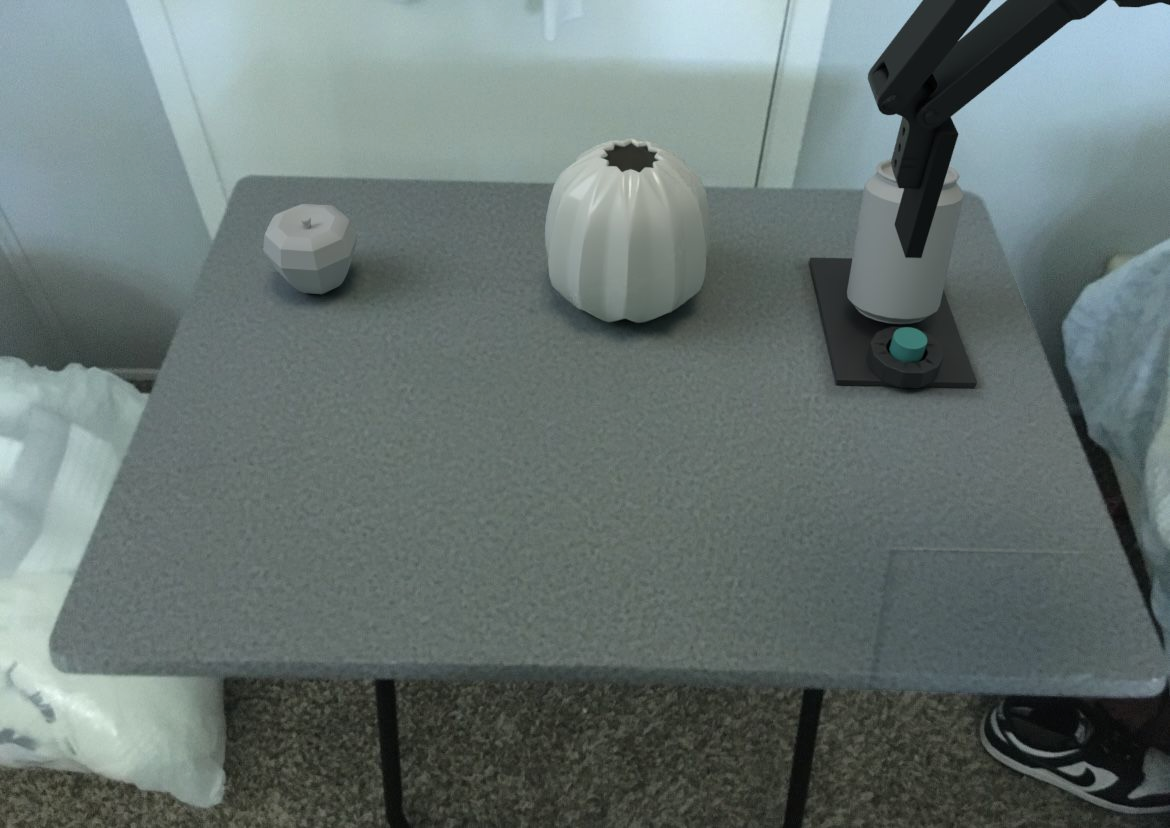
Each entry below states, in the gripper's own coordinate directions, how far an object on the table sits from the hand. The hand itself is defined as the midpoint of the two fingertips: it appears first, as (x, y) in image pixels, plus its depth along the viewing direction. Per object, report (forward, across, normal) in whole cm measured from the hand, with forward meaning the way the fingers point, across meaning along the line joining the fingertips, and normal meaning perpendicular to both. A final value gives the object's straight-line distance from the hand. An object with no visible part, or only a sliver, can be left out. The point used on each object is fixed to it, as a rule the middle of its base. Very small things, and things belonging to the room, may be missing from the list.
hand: (1049, 244), depth 49 cm
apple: (+27, +46, -30) cm, 61 cm away
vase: (+27, +19, -29) cm, 44 cm away
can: (+25, -3, -26) cm, 37 cm away
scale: (+27, -3, -26) cm, 38 cm away
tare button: (+25, -3, -20) cm, 32 cm away
